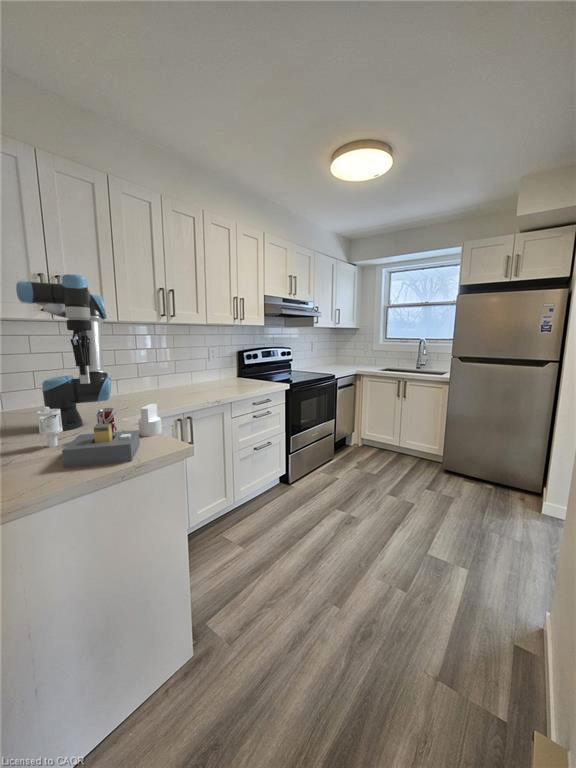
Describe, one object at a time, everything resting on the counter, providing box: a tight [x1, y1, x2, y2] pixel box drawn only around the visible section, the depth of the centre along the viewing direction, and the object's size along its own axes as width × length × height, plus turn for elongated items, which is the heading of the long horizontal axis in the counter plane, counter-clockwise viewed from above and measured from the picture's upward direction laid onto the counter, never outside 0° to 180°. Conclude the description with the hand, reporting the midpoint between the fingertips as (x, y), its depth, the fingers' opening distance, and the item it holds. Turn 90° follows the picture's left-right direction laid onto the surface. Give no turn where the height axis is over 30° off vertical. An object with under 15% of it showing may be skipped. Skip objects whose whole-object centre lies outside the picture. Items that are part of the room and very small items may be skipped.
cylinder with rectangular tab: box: [138, 403, 163, 437], centre depth 135 cm, size 9×9×12 cm
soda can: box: [96, 407, 118, 432], centre depth 129 cm, size 7×7×12 cm
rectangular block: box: [93, 423, 113, 443], centre depth 110 cm, size 4×4×10 cm
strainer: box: [36, 406, 63, 448], centre depth 119 cm, size 7×7×15 cm
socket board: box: [61, 429, 141, 468], centre depth 110 cm, size 16×20×7 cm
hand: (85, 383), depth 117 cm, fingers closed
